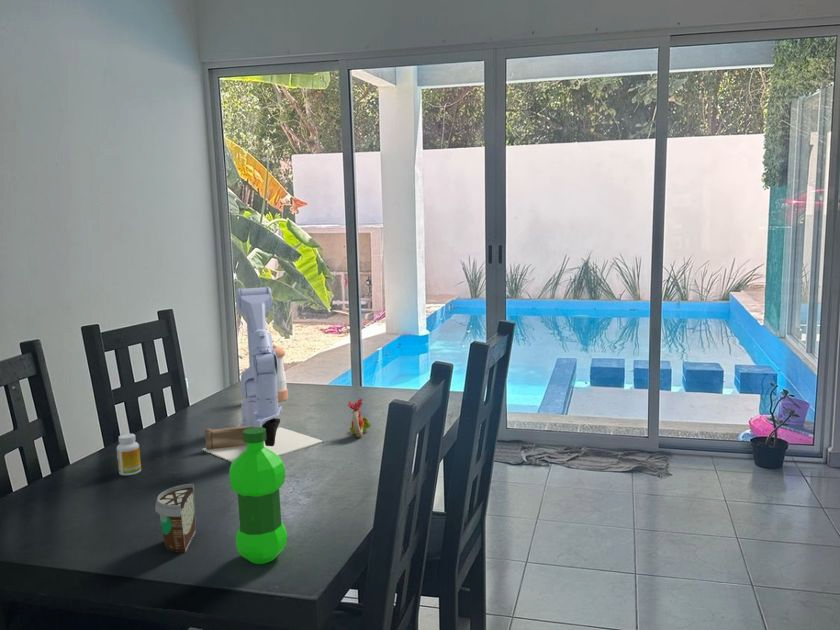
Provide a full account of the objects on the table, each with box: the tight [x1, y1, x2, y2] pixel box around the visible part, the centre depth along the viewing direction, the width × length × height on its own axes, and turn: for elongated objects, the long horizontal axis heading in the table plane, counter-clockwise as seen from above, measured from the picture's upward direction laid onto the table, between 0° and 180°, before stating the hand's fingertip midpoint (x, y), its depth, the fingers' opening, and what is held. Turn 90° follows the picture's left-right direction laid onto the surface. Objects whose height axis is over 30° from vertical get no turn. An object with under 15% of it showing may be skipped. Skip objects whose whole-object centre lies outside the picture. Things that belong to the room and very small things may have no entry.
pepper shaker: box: [273, 344, 289, 402], centre depth 255 cm, size 7×7×19 cm
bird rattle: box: [347, 398, 371, 439], centre depth 211 cm, size 6×11×9 cm
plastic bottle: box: [228, 427, 288, 565], centre depth 137 cm, size 10×10×25 cm
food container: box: [154, 483, 197, 553], centre depth 145 cm, size 12×6×10 cm, turn 5°
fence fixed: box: [204, 425, 252, 450], centre depth 204 cm, size 2×15×6 cm, turn 106°
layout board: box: [201, 426, 324, 463], centre depth 205 cm, size 21×26×1 cm
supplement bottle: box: [116, 433, 142, 476], centre depth 186 cm, size 5×5×10 cm
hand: (270, 445), depth 199 cm, fingers closed
